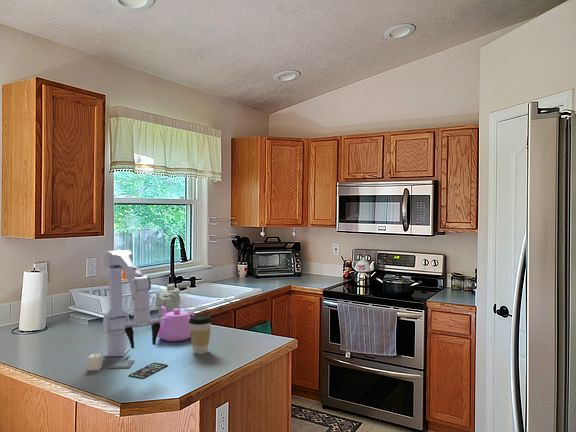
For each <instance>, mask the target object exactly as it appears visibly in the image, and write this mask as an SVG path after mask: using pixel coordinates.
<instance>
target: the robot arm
mask: <svg viewBox="0 0 576 432" xmlns="http://www.w3.org/2000/svg"><path fill="white" fill-rule="evenodd" d="M104 270H106V271H108V274H109V276H108V277H109V305H110V307H109V310H108V311H107V312H105V313H104V314H103V319H102V320H103V321H102V330H103V332H104V334H106V336H107V338H106V339H107V340H106V344H107V345H106V346H107V348H106V349H107V351H106V352H105V354H104V355H103V356H104V357H123V356H125V355H126V354H127V352H129V350H130V348H131V349H135V341H134V340H135V339H134V328H140V327H147V326H151V328H150V329H151V338H152V339H151V341H152V342H151V343H152V345H153V346H156V343H157V338H158V337H157V334H158V332H159V329H160V324H163V320H162V318H159V317H158V318H151V314H150V313H151V309H150V293H149V292H150V290H151V288H152V280H151V278H150V276H149V275H144V274H143V272H142V270H140V268H139V267H138V266H137V265H134V263H133V253H132V251H131V250H130V249H126V250H125V249H124V250H123V249H122V250H106V252H105V254H104ZM123 271H124V277H125V278H126V280H127V281H128V284H129V290H130V294H131V298H132V306H133V307H132V308H133V321H131V320H130V315H129V312H128V311H126V310H125V309H123V283H122V282H123V281H122V280H123V279H122V277H123V276H122V272H123ZM128 340H129V344H130V347H128Z"/></svg>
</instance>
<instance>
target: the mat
mask: <svg viewBox="0 0 576 432" xmlns="http://www.w3.org/2000/svg"><path fill="white" fill-rule="evenodd" d="M134 363H135V359H131V360H130V359H128V360H127V359H126V360H113V361H112V363H110V365H109V366H108V367H107V369H108V370H116V369H117V370H119V369H123V370H124V369H130V368H131V367H132V366H133V364H134Z"/></svg>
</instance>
